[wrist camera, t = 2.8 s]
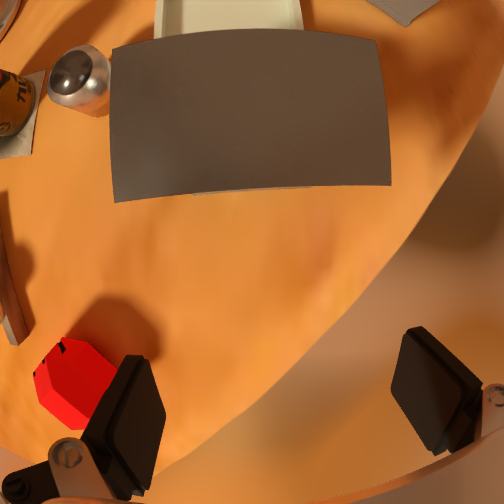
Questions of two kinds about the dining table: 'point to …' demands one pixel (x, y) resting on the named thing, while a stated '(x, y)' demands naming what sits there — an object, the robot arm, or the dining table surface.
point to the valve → (1, 313)
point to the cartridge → (81, 81)
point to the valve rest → (10, 303)
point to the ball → (72, 381)
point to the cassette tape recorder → (403, 8)
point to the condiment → (18, 111)
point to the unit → (246, 113)
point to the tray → (224, 15)
